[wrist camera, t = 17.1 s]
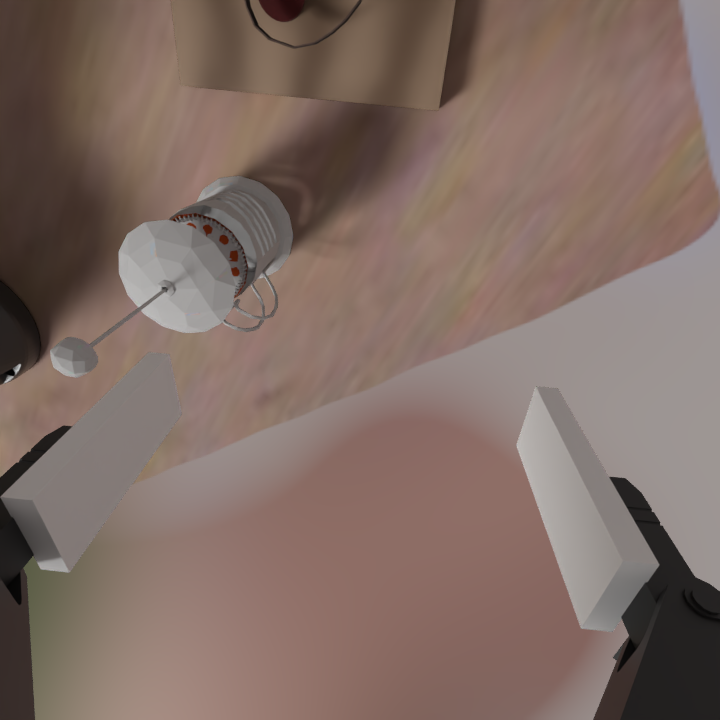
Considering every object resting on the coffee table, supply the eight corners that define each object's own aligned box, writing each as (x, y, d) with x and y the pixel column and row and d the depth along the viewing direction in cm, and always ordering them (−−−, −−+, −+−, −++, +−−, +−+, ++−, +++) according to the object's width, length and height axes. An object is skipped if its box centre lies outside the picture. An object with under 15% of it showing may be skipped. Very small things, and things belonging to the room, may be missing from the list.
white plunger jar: (237, 150, 37) (6, 207, 15) (326, 252, 41) (242, 409, 19) (172, 223, 41) (-85, 349, 19) (259, 310, 45) (127, 495, 23)
